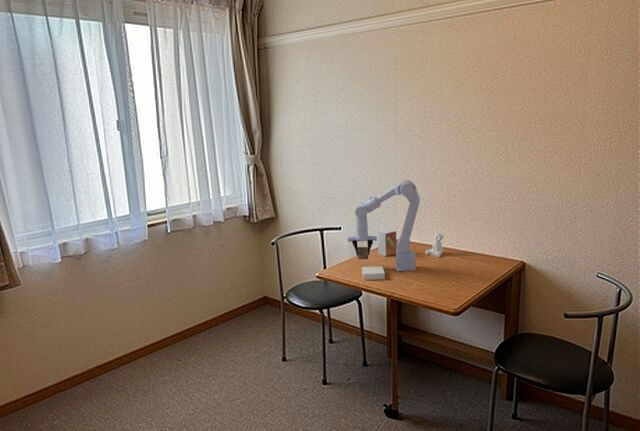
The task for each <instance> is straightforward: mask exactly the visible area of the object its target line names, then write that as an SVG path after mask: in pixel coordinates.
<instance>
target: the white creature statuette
mask: <svg viewBox="0 0 640 431" xmlns="http://www.w3.org/2000/svg"><path fill="white" fill-rule="evenodd" d="M444 237H445V236H444V235H443V234H441V233H439V232H435V233H434V236H433V239H434V241H433V242H432V244H431V246H432V248H428V249H427V250H425V252H424V253H425V255H431V256H435V257H436V258H440V257H441V256H442V255H443V253H444V248H443V245H442V242H441V241H442V240H443V239H444Z"/></svg>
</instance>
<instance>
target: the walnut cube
mask: <svg viewBox="0 0 640 431" xmlns="http://www.w3.org/2000/svg"><path fill="white" fill-rule="evenodd" d="M357 249H358V256H357V259H358V260H369V255H368V246H357Z"/></svg>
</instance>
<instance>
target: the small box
mask: <svg viewBox="0 0 640 431" xmlns="http://www.w3.org/2000/svg"><path fill="white" fill-rule="evenodd" d="M377 235H378V236H377V241H378V242H377V243H378V244H377V245H378V248H377V249H378V250H377V251H378V255H381V256H383V257H388V256H392V255H396V250H397V248H396V246H397V230H394V229H391V228H388V229H384V230H380V231H377Z"/></svg>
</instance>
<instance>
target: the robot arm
mask: <svg viewBox="0 0 640 431" xmlns="http://www.w3.org/2000/svg"><path fill="white" fill-rule="evenodd" d="M401 195H402V196H404V197H405V198H406V200H408V201H409V204H408V207H407V212H406V216H405V219H404V222H403V226H402V230H401V234H400V236H399V238H397V240H396V254H395V263H396V264H395V265H394V268H395V272H405V271H406V272H407V271H409V272H410V271H416V270H417V268H416V252H415V250H412V249H410V244H411V240H410V239H411V234H412V232H413V228H414V224H415V220H416V217H417V213H418V209H419V206H420V202H421V198H420V195H419V192H418V190H417V187H416V185H415V183H414V182H412V180H409V179H406V180H403V181H402V182H399V183H397V184H396V185H394V186H392V187H391V188H389V189H388V190H386V191H385V192H383V193H382V194H381V195H379V196H373V197H372V196H370V197H369V198H368V199H367V200H366V201H365V202H361V204H358V205H357V207H356V208H355V210H354V214H355V219H356V220H355V231H356V236H351V237H350V236H349V237H347V242H348V243H351V244H352V246H353V248H354V249H355V250H354V251H355V252H356V253H355V254H356V256H357V257H358V249H357V247H358V242H366V243H367V248H368V256H370V251H371V248H372V246H373V244H374V242H373V241H375V242H376V241H378V236H375V235H369V232H368V231H369V229H368V228H369V227H368V224H369V223H368V214H371V213H372V212H374V211H375V210H377V209H378V208H380V207H381V204H382V203H383V202H385V201H387V200H388V199H390V198H392V197H393V196H401Z"/></svg>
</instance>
